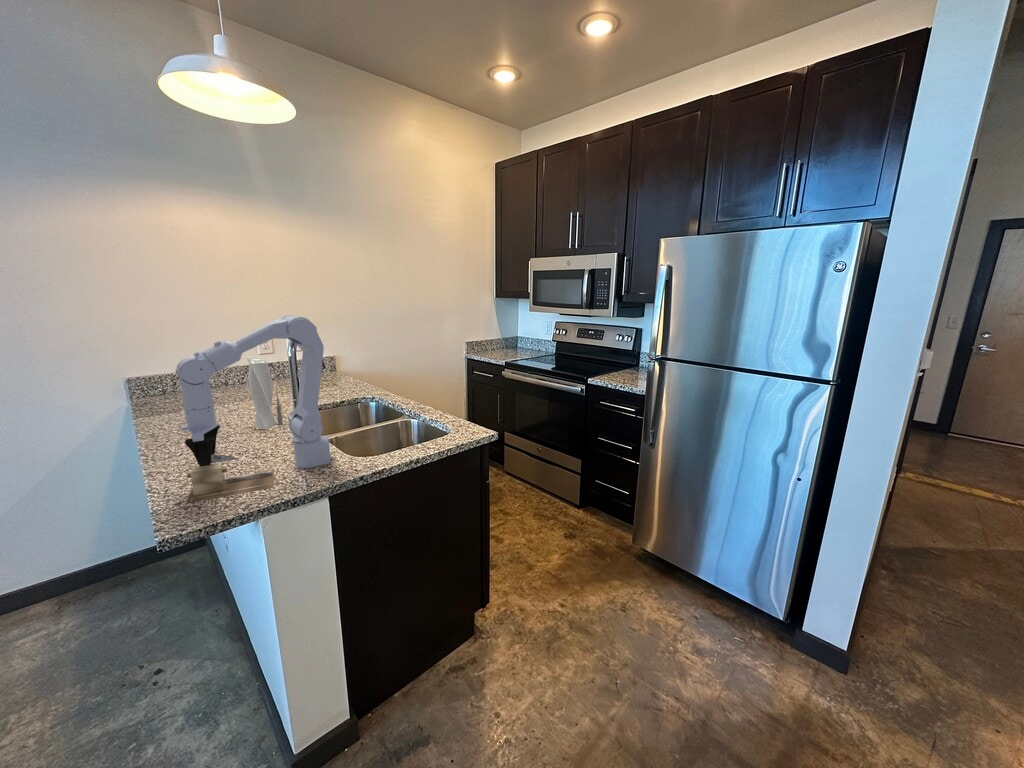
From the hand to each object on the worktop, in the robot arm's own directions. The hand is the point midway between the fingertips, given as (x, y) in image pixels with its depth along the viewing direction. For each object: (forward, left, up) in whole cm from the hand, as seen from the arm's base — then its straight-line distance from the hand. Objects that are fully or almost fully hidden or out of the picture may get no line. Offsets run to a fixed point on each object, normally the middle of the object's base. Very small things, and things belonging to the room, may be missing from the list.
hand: (207, 459), depth 102 cm
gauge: (0, 0, -8) cm, 8 cm away
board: (-5, 0, -9) cm, 10 cm away
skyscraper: (-11, -55, -10) cm, 57 cm away
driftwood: (0, -23, -10) cm, 25 cm away
